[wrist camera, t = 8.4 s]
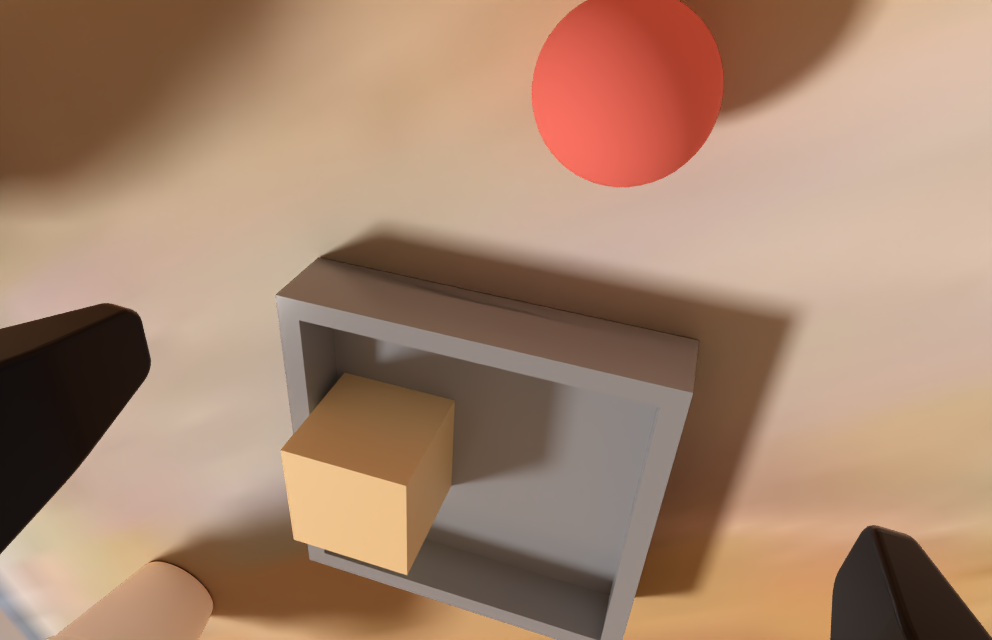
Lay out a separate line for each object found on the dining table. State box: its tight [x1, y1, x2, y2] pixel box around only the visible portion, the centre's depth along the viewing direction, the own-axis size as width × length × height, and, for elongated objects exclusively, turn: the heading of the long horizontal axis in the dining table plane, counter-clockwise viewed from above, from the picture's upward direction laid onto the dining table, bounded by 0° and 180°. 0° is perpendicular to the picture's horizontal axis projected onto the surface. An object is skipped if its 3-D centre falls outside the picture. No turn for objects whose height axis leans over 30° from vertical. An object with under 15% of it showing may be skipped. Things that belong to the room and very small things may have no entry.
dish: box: [275, 257, 699, 640], centre depth 23 cm, size 12×12×2 cm
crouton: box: [281, 373, 455, 575], centre depth 23 cm, size 4×4×4 cm
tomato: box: [532, 0, 724, 187], centre depth 15 cm, size 4×4×4 cm
